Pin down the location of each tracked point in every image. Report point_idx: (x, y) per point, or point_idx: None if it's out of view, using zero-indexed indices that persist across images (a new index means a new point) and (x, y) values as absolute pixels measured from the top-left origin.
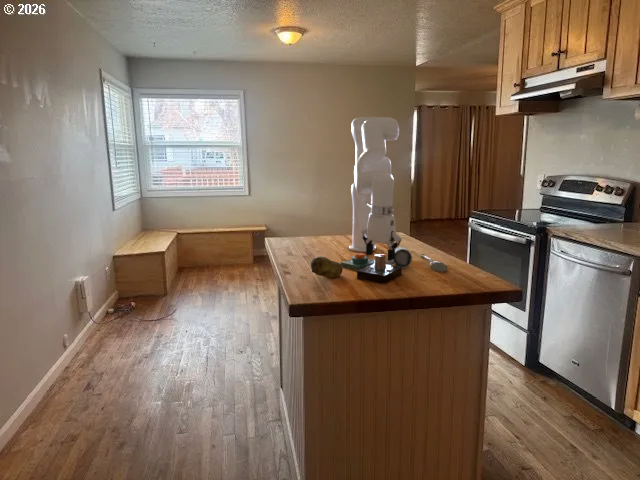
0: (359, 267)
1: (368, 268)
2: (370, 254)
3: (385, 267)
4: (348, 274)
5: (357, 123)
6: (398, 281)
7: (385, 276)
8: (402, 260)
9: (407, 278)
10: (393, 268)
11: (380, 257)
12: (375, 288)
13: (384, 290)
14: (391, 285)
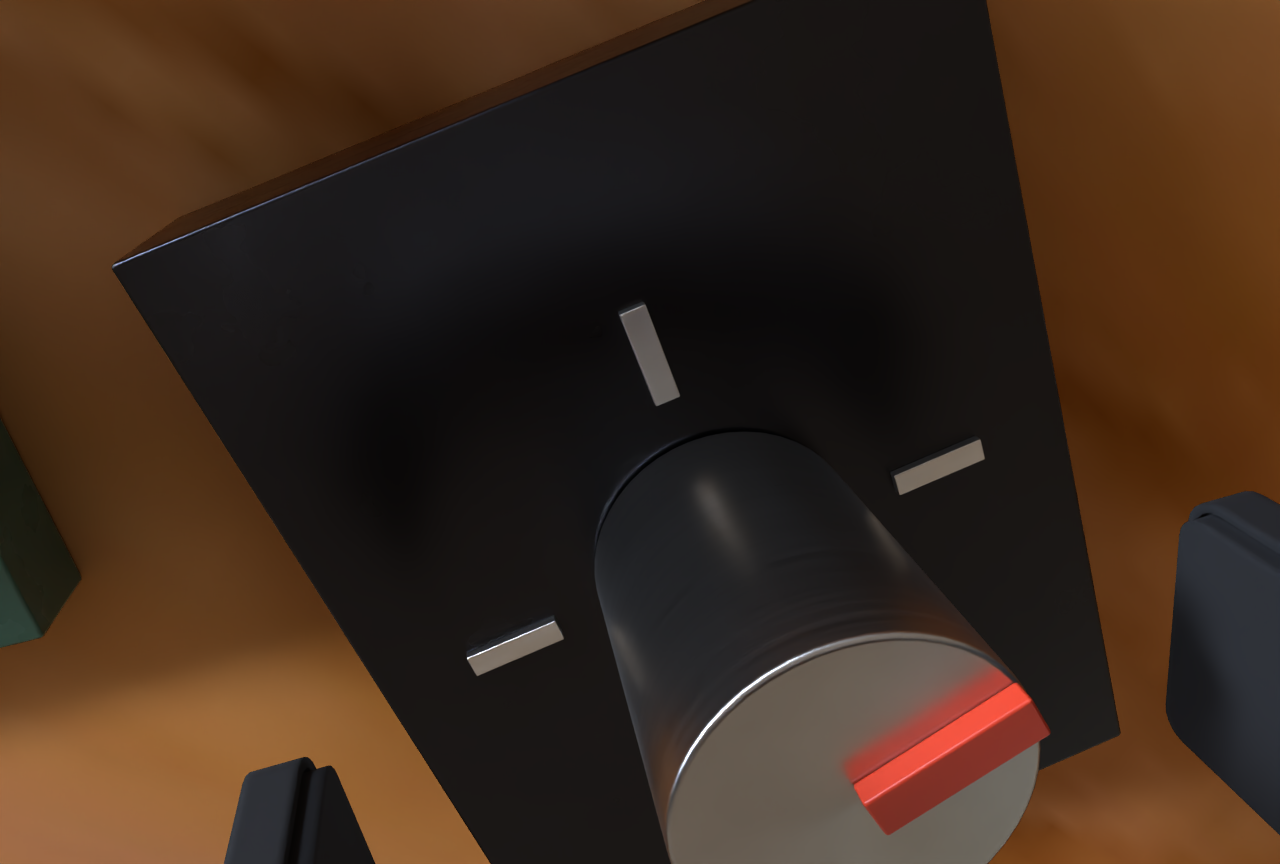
0: (41, 630)
1: (545, 738)
2: (369, 860)
3: (850, 488)
4: (217, 852)
5: None
6: (1097, 346)
7: (1104, 698)
8: None
9: (1113, 37)
10: (906, 244)
11: (968, 853)
12: (1055, 827)
13: (1188, 773)
14: (1136, 580)
